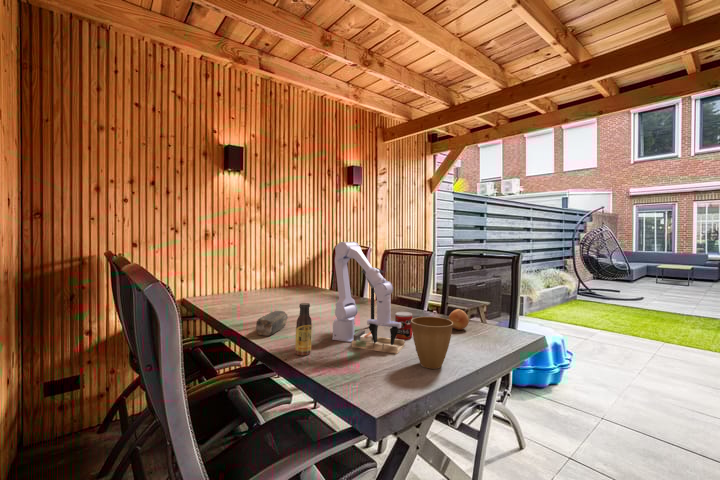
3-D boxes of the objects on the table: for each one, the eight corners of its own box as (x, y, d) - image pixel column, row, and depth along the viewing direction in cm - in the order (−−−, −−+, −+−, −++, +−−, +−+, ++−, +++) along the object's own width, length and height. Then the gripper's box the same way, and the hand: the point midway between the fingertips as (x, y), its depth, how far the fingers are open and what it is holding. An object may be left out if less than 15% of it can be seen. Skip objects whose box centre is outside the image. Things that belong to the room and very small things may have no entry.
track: (351, 346, 142) (351, 335, 142) (361, 340, 151) (361, 329, 151) (397, 353, 134) (397, 341, 134) (404, 346, 143) (404, 334, 143)
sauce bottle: (298, 357, 130) (297, 305, 130) (293, 352, 135) (293, 303, 135) (314, 354, 133) (314, 304, 133) (308, 349, 138) (308, 301, 138)
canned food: (393, 338, 153) (393, 314, 153) (398, 334, 161) (398, 311, 160) (409, 340, 150) (409, 316, 150) (413, 335, 158) (413, 312, 158)
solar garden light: (358, 329, 169) (358, 269, 168) (362, 323, 181) (362, 267, 180) (383, 330, 167) (383, 269, 166) (385, 324, 179) (385, 267, 178)
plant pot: (445, 376, 112) (445, 328, 112) (404, 367, 120) (404, 322, 120) (458, 362, 124) (458, 319, 124) (420, 355, 132) (420, 314, 132)
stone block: (287, 327, 176) (268, 325, 176) (288, 310, 176) (269, 308, 176) (275, 338, 156) (254, 336, 156) (276, 319, 156) (255, 317, 156)
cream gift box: (359, 344, 143) (359, 335, 143) (365, 340, 148) (365, 331, 148) (370, 345, 141) (370, 336, 141) (375, 341, 146) (375, 332, 146)
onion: (445, 327, 173) (445, 307, 173) (463, 326, 174) (464, 307, 174) (452, 332, 163) (452, 311, 163) (472, 331, 164) (472, 311, 164)
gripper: (364, 311, 141) (364, 343, 141) (397, 314, 135) (397, 348, 135) (370, 308, 147) (370, 339, 147) (402, 311, 141) (402, 343, 141)
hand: (383, 343), depth 141 cm, fingers open, 7 cm apart
